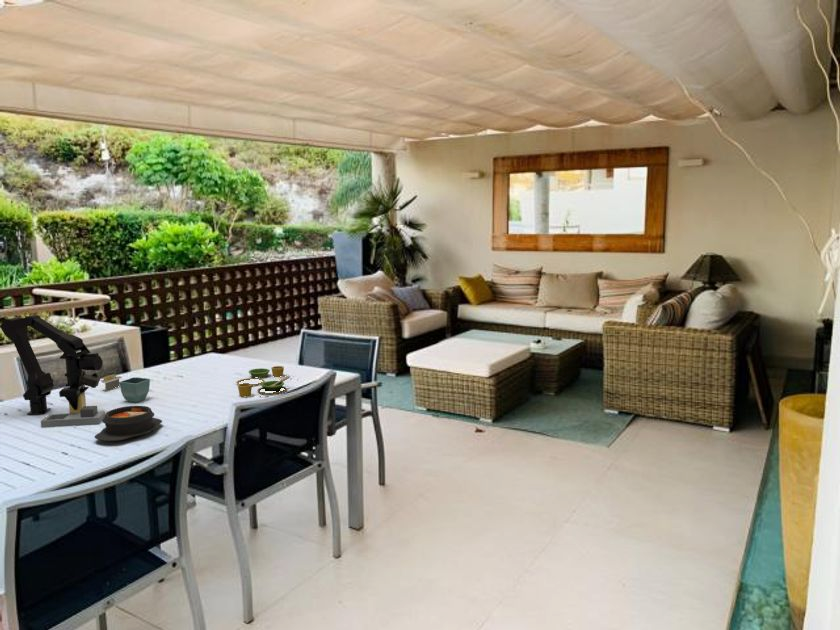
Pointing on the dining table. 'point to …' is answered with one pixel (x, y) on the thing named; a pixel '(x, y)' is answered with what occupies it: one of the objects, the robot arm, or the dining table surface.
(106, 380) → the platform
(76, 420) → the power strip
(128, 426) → the casserole
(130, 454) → the dining table surface
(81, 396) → the plug
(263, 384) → the tableware set
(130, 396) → the flower pot
